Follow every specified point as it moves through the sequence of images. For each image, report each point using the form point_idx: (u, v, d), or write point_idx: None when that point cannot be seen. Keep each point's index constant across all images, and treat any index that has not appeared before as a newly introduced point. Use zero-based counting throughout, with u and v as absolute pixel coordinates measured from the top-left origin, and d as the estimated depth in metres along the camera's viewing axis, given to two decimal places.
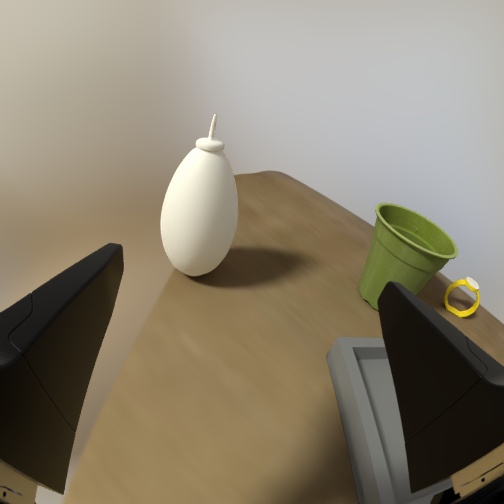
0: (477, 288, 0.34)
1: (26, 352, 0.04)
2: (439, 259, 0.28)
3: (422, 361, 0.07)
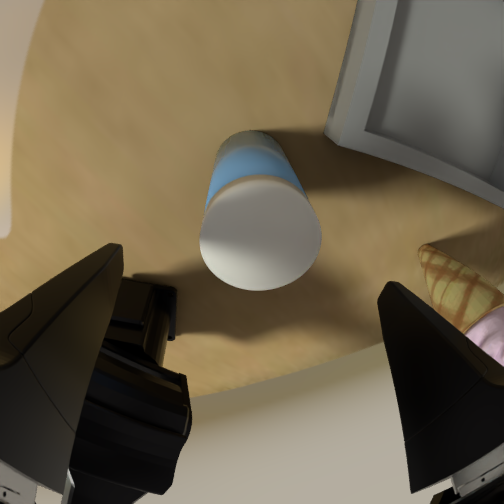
0: None
1: (26, 353, 0.04)
2: None
3: (422, 361, 0.07)
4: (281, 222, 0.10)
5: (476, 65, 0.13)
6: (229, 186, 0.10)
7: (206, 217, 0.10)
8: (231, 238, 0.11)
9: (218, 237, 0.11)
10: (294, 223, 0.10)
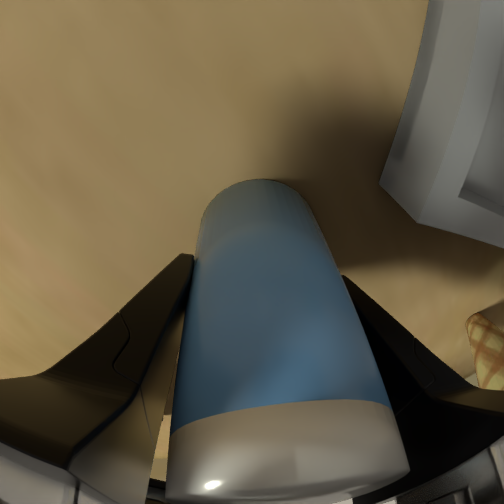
0: None
1: (136, 382, 0.04)
2: None
3: None
4: (337, 490, 0.03)
5: None
6: (219, 439, 0.03)
7: (172, 492, 0.03)
8: None
9: (203, 503, 0.04)
10: (363, 484, 0.04)
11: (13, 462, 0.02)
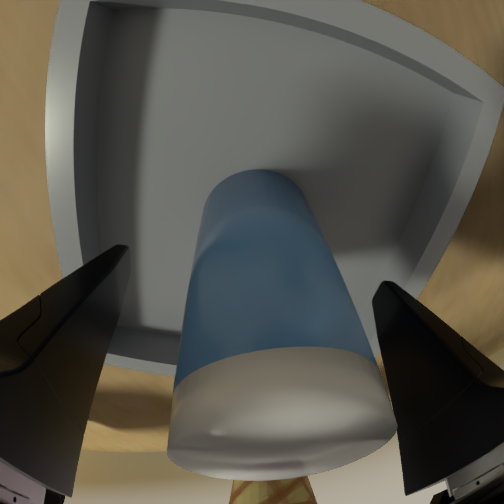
0: None
1: (37, 356, 0.04)
2: None
3: (416, 361, 0.07)
4: (327, 441, 0.04)
5: None
6: (219, 381, 0.04)
7: (174, 440, 0.04)
8: (228, 458, 0.04)
9: (203, 457, 0.04)
10: (353, 437, 0.04)
11: None
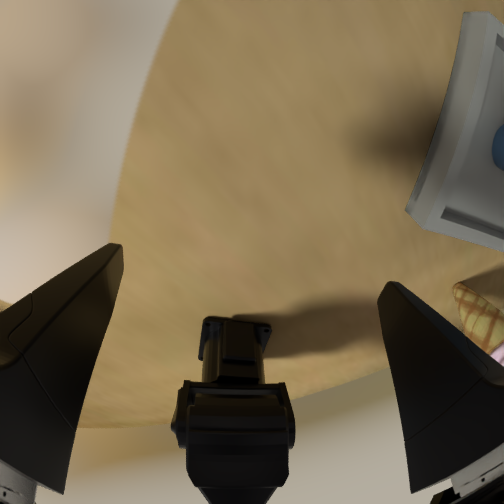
0: None
1: (26, 353, 0.04)
2: None
3: (422, 361, 0.07)
4: None
5: None
6: None
7: None
8: None
9: None
10: None
11: None
